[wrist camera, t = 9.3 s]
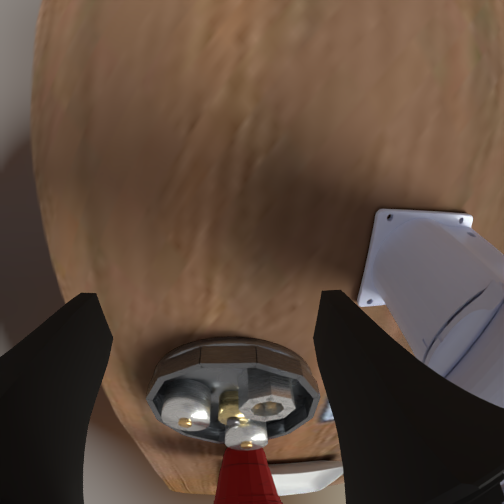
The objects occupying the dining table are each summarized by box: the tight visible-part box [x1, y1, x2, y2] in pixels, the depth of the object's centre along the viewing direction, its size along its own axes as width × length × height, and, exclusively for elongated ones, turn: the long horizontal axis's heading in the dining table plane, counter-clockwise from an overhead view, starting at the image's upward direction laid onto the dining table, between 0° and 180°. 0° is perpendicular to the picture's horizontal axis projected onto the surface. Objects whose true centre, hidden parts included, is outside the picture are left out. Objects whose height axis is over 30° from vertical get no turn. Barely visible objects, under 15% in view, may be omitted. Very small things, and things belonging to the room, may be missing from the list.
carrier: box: [146, 337, 320, 450], centre depth 25 cm, size 16×16×5 cm
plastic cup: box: [214, 447, 283, 504], centre depth 30 cm, size 11×11×12 cm
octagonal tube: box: [238, 368, 296, 422], centre depth 23 cm, size 4×4×3 cm
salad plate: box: [268, 460, 343, 496], centre depth 43 cm, size 21×21×3 cm
